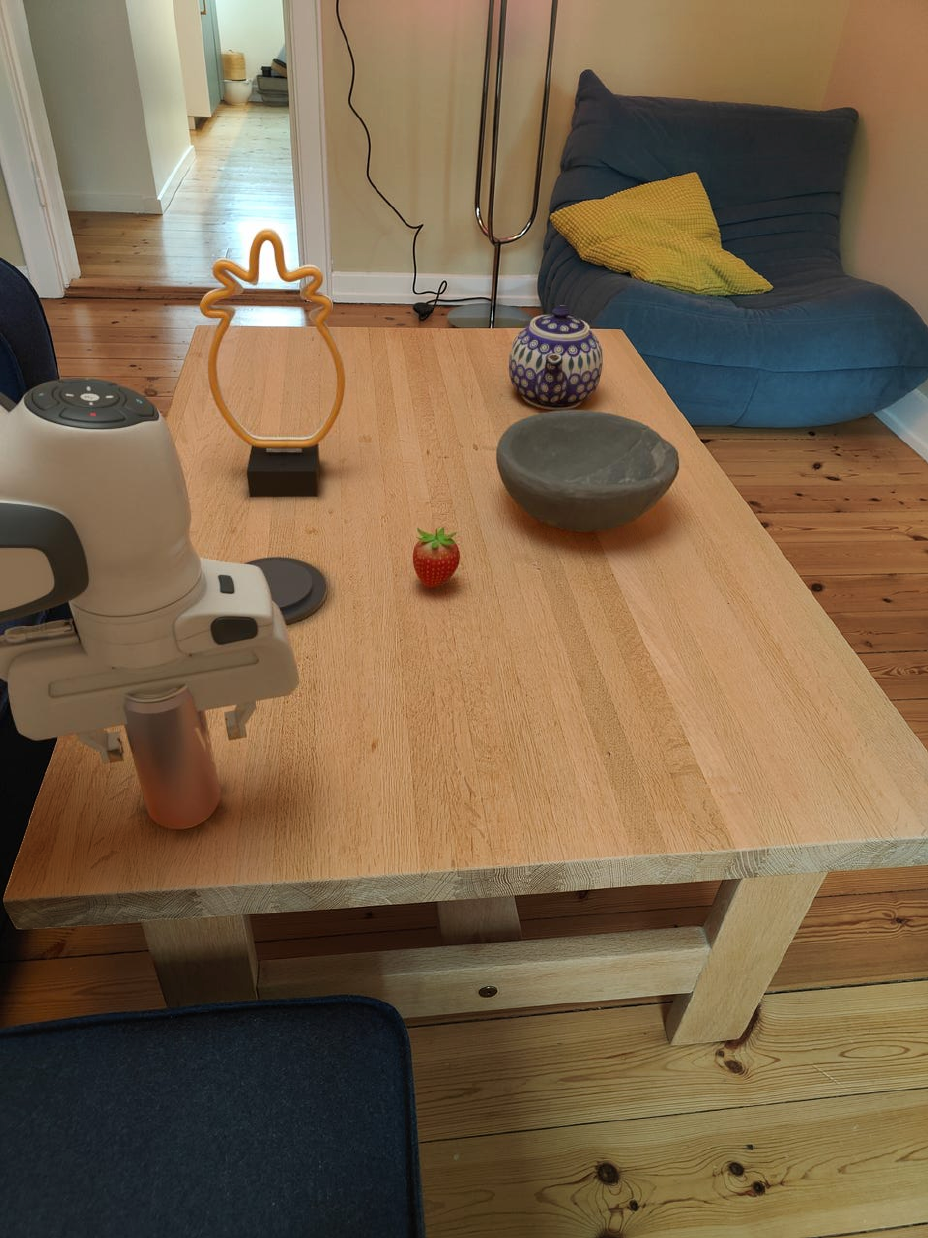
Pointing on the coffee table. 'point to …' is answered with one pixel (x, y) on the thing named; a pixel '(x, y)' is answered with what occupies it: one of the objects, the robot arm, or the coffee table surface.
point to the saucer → (293, 586)
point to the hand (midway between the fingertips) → (176, 745)
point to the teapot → (555, 361)
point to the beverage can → (172, 756)
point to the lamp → (272, 459)
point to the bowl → (585, 468)
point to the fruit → (435, 558)
